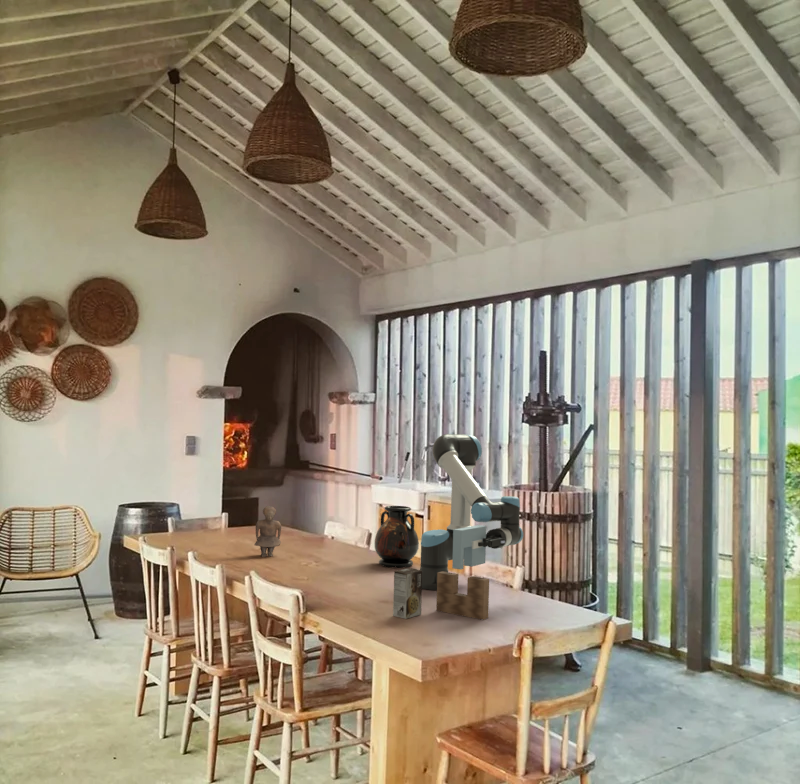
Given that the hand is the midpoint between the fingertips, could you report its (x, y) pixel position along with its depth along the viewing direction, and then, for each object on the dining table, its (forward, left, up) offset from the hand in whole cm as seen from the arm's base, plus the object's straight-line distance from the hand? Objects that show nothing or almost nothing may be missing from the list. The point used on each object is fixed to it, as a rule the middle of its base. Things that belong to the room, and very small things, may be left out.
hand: (467, 544), depth 293 cm
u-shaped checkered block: (0, -3, -25) cm, 25 cm away
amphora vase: (-74, +58, -25) cm, 98 cm away
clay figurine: (-134, +31, -25) cm, 140 cm away
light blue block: (0, +1, -8) cm, 8 cm away
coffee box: (-14, -18, -25) cm, 34 cm away
